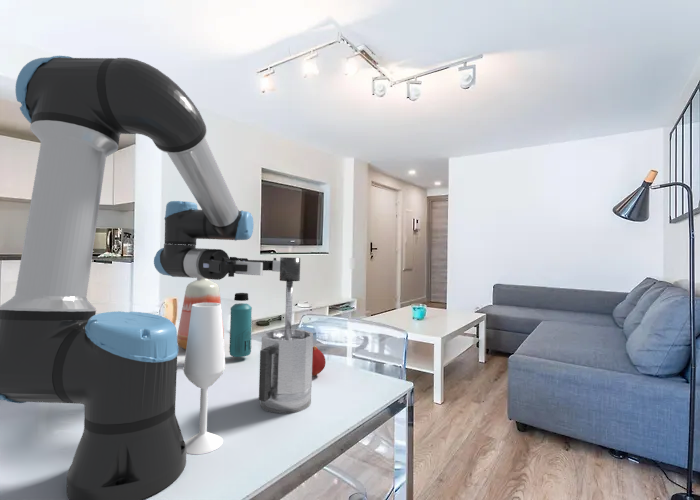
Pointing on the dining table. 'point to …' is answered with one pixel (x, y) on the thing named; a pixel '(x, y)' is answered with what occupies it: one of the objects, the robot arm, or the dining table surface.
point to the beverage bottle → (240, 327)
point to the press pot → (286, 371)
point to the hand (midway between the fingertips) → (280, 267)
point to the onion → (317, 361)
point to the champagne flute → (204, 367)
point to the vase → (196, 294)
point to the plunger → (289, 289)
